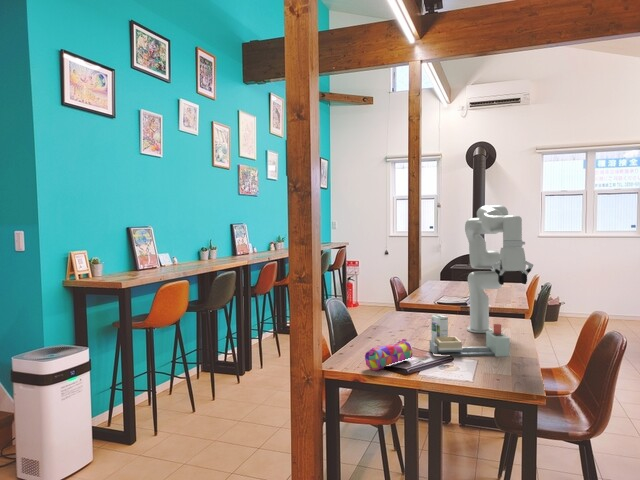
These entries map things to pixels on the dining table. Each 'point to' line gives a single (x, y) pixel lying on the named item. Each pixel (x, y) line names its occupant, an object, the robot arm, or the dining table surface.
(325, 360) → the dining table surface
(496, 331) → the button
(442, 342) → the carriage
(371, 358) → the pencil case
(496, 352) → the housing
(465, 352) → the rail
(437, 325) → the syrup box
